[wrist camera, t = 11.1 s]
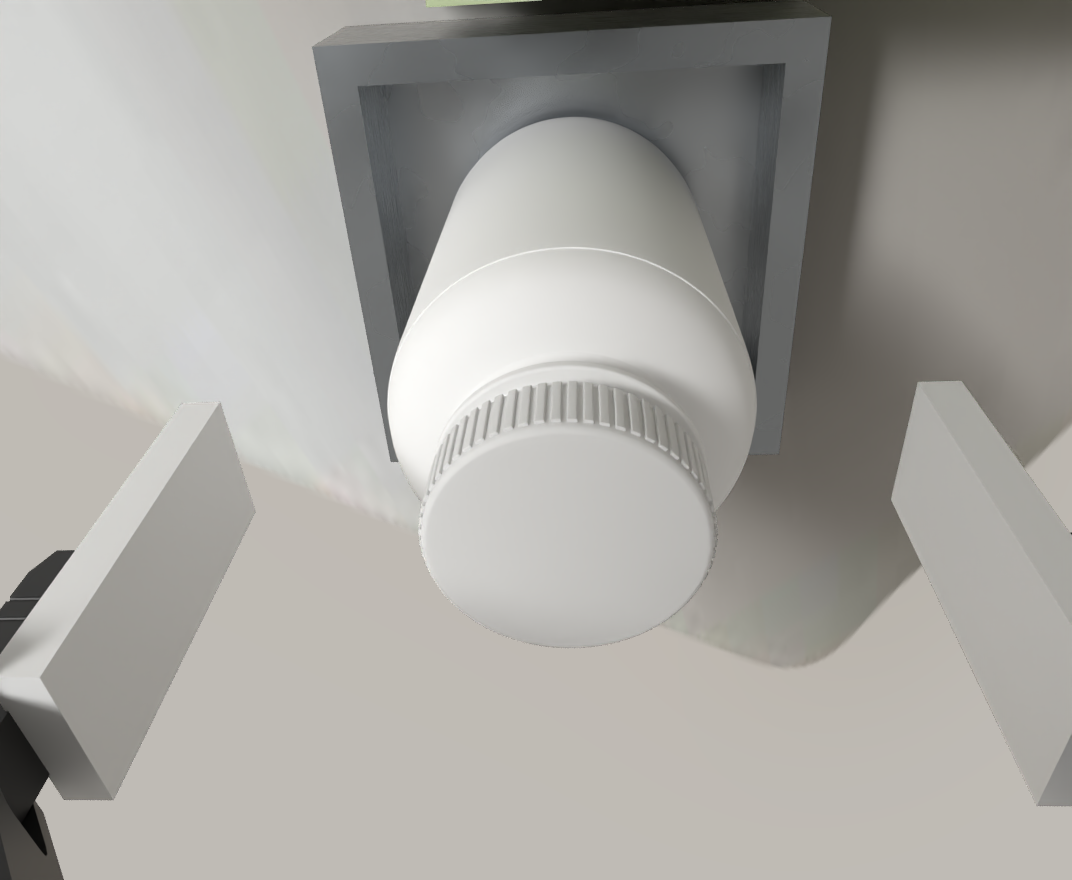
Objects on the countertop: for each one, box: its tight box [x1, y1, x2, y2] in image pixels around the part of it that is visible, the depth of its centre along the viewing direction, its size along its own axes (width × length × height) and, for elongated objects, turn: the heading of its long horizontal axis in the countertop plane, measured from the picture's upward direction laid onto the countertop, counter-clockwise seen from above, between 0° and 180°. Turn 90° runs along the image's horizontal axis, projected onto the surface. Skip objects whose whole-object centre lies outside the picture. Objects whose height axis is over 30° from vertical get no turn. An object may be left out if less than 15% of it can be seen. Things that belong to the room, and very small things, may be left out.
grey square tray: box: [312, 0, 832, 462], centre depth 26 cm, size 13×13×4 cm
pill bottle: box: [387, 117, 757, 648], centre depth 21 cm, size 8×8×15 cm
